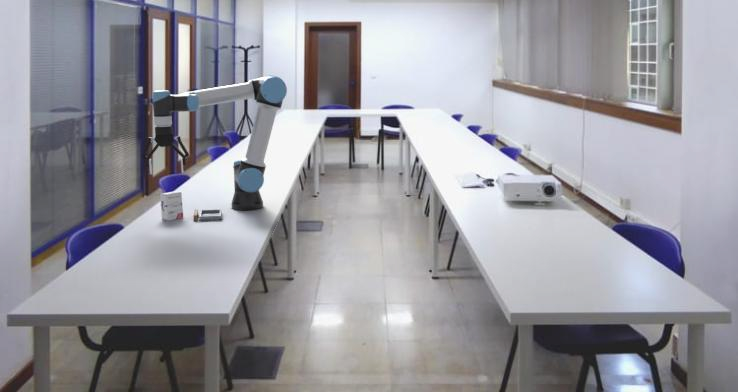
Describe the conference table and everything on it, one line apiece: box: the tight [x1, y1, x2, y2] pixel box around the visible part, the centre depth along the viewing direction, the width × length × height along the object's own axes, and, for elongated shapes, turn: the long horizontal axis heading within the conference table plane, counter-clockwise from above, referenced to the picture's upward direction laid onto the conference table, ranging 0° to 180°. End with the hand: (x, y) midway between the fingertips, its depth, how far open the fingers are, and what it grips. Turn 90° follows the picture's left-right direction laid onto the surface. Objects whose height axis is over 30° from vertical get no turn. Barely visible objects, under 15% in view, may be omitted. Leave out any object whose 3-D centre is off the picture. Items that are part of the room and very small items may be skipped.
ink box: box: [159, 190, 184, 221], centre depth 320 cm, size 9×5×12 cm, turn 141°
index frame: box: [198, 208, 222, 222], centre depth 323 cm, size 10×14×2 cm
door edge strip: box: [192, 209, 199, 222], centre depth 322 cm, size 2×12×2 cm, turn 11°
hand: (166, 173), depth 318 cm, fingers open, 13 cm apart
